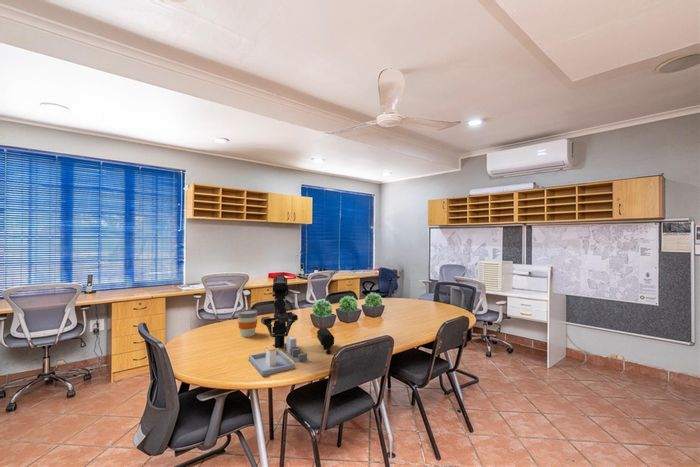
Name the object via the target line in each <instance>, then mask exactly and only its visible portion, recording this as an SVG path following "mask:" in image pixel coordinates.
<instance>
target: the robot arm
mask: <svg viewBox="0 0 700 467" xmlns="http://www.w3.org/2000/svg"><path fill="white" fill-rule="evenodd" d="M288 295H289V286H288V278H286V276H285V274H276V275H275V277H274V278H273V282H272V297H274V300H273V301H274V302H273V312H274V313H273V317H270V316H263V317H261V319H260V323H261V324H262V325H263V326H266V329H267V331H268V333H269V335H270V337H271V338H274V344H272V345H273V346H274V347H275V348H276V349H280V348H284V344H285V341H286V340H285V337H287V336H289V333H290V330H291V327H292V325H293V324H294V323H296V321H298V319H299V316H298V315H297V314H295V313H293V312H292V311H287V307H286V297H288ZM272 323H273V324H272Z"/></svg>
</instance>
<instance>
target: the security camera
mask: <svg viewBox="0 0 700 467" xmlns="http://www.w3.org/2000/svg"><path fill="white" fill-rule="evenodd" d="M316 337H317V338H316V339H318V341H319V342H320V344H321V346H322V348H323V350H326V351H325V353H326V355H327V354H328V355H330V354H332V351H331V350H330V348H332V347H333V346H334V345H335V336H334V335H333V334H332V332H331V331H330V330H329V329H328V328H327V327H319V329H318V330H317V331H316Z"/></svg>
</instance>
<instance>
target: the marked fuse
mask: <svg viewBox="0 0 700 467" xmlns="http://www.w3.org/2000/svg"><path fill="white" fill-rule="evenodd" d="M273 345H274V344H271V345H266V346H265V352H266V363H267V364H268V365H269V366H273V365H276V350H277V348H275V347H274V346H273Z"/></svg>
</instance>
